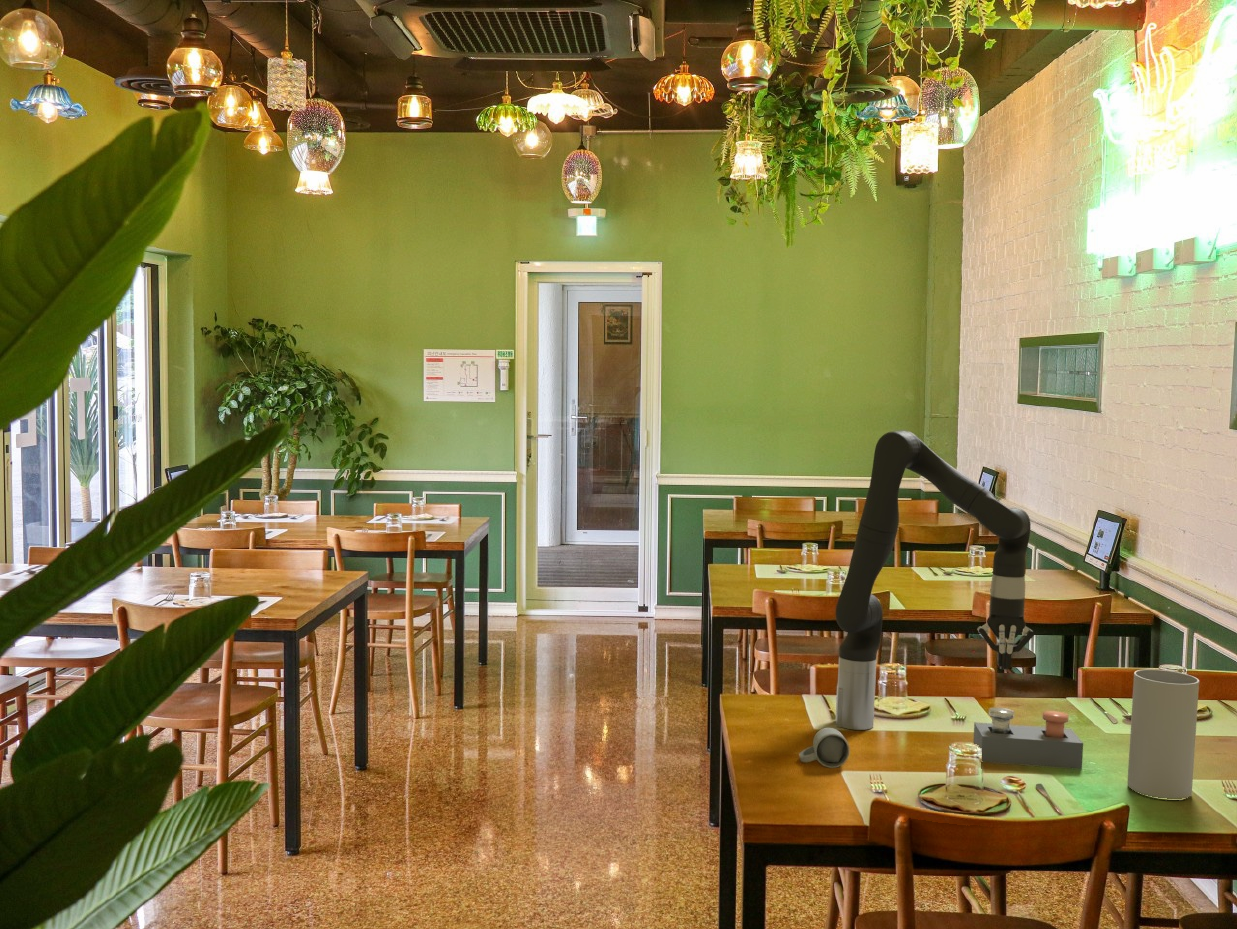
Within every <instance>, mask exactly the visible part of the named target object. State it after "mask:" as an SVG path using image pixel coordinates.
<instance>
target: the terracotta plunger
mask: <svg viewBox="0 0 1237 929" xmlns="http://www.w3.org/2000/svg"><path fill="white" fill-rule="evenodd" d="M1041 717H1042V720H1044V721H1045V727H1046V729H1045V737H1056V738H1064V728H1065V723H1068V722H1069V718H1070V717H1069V714H1067V713H1066V712H1063V711H1058V710H1057V711H1056V710H1044V711H1042V716H1041Z"/></svg>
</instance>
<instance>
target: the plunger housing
mask: <svg viewBox="0 0 1237 929" xmlns="http://www.w3.org/2000/svg"><path fill="white" fill-rule="evenodd" d="M973 726H974V727H973V743H974V744H977V745H979V747H980V748H982V761H983V762H982V763H991V764H992V763H993V764H1005V765H1017V766H1018V765H1020V766H1034V767H1047V768H1060V769H1070V770H1071V769H1072V768H1073V769H1074V770H1082V769H1083V754H1084V742H1083V741H1082V739H1080V737H1079V736H1078V735H1077V734H1076V733H1075V732H1074V730H1073V729H1072V728H1065V727H1064V738H1056V737H1045V729H1046V726H1036V725H1035V726H1033V725H1020V724H1019V725H1017V724H1010V734H998V733H991V730H992V722H990V723H988V722H976V721H975V722H974V724H973Z"/></svg>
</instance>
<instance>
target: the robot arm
mask: <svg viewBox="0 0 1237 929" xmlns="http://www.w3.org/2000/svg"><path fill="white" fill-rule="evenodd" d="M872 462H873V463H872V470H871V478H870V483H869V487H868V490H867V493H866V497H865V498H866V499H865V501H864V506H863V509H862V512H861V513H862V514H861V517H860V521H859V523H858V529H857V534H856V538H855V543H854V547H853V551H852V554H851V557H850V562H849V567H848V570H847V575H846V578H845V580H844V583H843V585H842V589H841V591H840V594H839V597H838V599H837V601H836V602H837V603H836V607H835V614H834V615H835V621H836V623H837V625H838V627H839V628H840V629H841V630H842V631H843V632H846V633H847V634H846V637H845V638H844V640H843V641H842V642H841V644H839V650H838V651H839V652H838V670H837V671H838V672H837V673H838V674H837V684H836V698H835V700H836V701H835V702H836V703H835V725H836V727H838V728H844V729H848V730H857V731H858V730H859V731H862V730H863V731H864V730H870V729H873V728H874V721H875V700H876V699H875V696H876V681H877V680H876V677H877V654H878V651H879V649H880V646H881V641H882V629H883V618H884V617H883V608H882V604H881V602H880V600H879V599H878V597H877V596H876V595H874V594H872V591H873V587H874V584H875V582H876V580H877V578H878V577H879V574H880V572H882V569H883V568H884V566H885V565H886V563H887V561H888V559H890V558H889V557H890V556H891V554H892V552H893V549H894V545H895V543H896V539H897V534H898V531H899V530H898V529H899V525H900V512H899V511H900V510H899V509H900V508H899V492H900V486H901V483H902V479H903V476H904V474H905V471H906V469H907V470H909V471H912V472H914V473H915V474H917V475H919V476H921V477H923V479H925V480H928V482H930V483H931V484H932V485H933V486H934V487H935V489H937V491H939V492H940V493H941V494H942V495H943V496H944V497H945V498H946V499H948V500H949V501H950V502H951V503H952V504H954V505H955V506H957V507H958V508H959V509H961V510H963V511H964V512H966V513H967V514H968V515H970V516H972V517H973V518H975V519H976V520H977V521H978V522H979V523H980V524H981V525H982V526H984V527H985V528H986V529H987V530H988V531H989V532H990V533H991V534H993V535H995V536H996V537H998V538H999V539H998V544H997V545H998V547H997V549H996V550H995V552H994V554H993V561H992V576H991V582H990V588H989V589H990V590H989V592H990V596H989V600H990V601H989V615H988V618H987V619H986V623H984V624H983V625H982V626H981V625H979V626H978V627H977V629H976V630H977V631H978V633H979V634H980V636H982V638H983V639H984V641H985V642H986V644H987V645H988V646H989V648H990V649H991V650H992V651H995V652H997V654H996V656H997V657H996V664H997V666H998V667H999V669H1000V670H1008V669H1009V668H1011V666H1012V654H1013V653H1016V652H1020V651H1022V649H1023V648H1024V647H1025V645H1027V644H1028V643H1029V641H1031V639H1032V638H1033V637H1035V632H1034V631H1033V630H1032V629H1031V628H1029V627H1028V626H1026V625H1027V624H1026V621H1025V604H1026V603H1025V600H1026V578H1025V577H1026V554H1027V550H1028V547H1029V541H1030V537H1031V528H1032V527H1031V519H1030V516H1029V514H1028V513H1027V512H1026V511H1025V510H1024V509H1022V508H1020V507H1007V505H1004V504H1003V503H1001V501H999V500H998V499H996V498H995V497H996V496H995V495H994V494H993V493H992V492H991V491H990V490H989V489H988V488H986V487H985V486H982V485H981V484H980V483H978V482H977V481H975V480H973V479H972V478H970V477H969V476H967V475H965V474H964V473H962V472H961V471H960V470H958V469H956V468H955V467H953V466H952V465H951V464H949V463H948V462H946V460H944V459H943V458H941V457H940V456H939V455H938V454H937V453H935V452H934V451H933V450H932V449H931V448H929V446H928V445H927V444H925V442H924V441H922V440H921V439H920V438H919V436H917V435H916V434H914V433H913V432H911V431H908V430H902V429H901V430H894V431H889V432H886V433H884V434H883V435H881V437H879V439H878V440H877V442H876V444H875V449H874V454H873V460H872ZM989 629H990V630H991V632H992V633H993V635H994V636H995V637H996V643H995V642H994V641H993V639H991V637H990V635H989V634H990V630H989ZM1019 634H1022V635H1021V637H1020V638H1019V639H1018V640H1017V641H1016V642H1015V639H1016V638H1017V637H1018V636H1019Z"/></svg>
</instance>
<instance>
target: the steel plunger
mask: <svg viewBox="0 0 1237 929" xmlns="http://www.w3.org/2000/svg"><path fill="white" fill-rule="evenodd" d="M988 716H990V718H992V719H991V723H992V730H991V733H998V734H1010V725H1011V720H1013V719H1014V718H1015V711H1014V710H1013V709H1010V708H1005V707H998V706H996V707H990V708H988Z"/></svg>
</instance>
